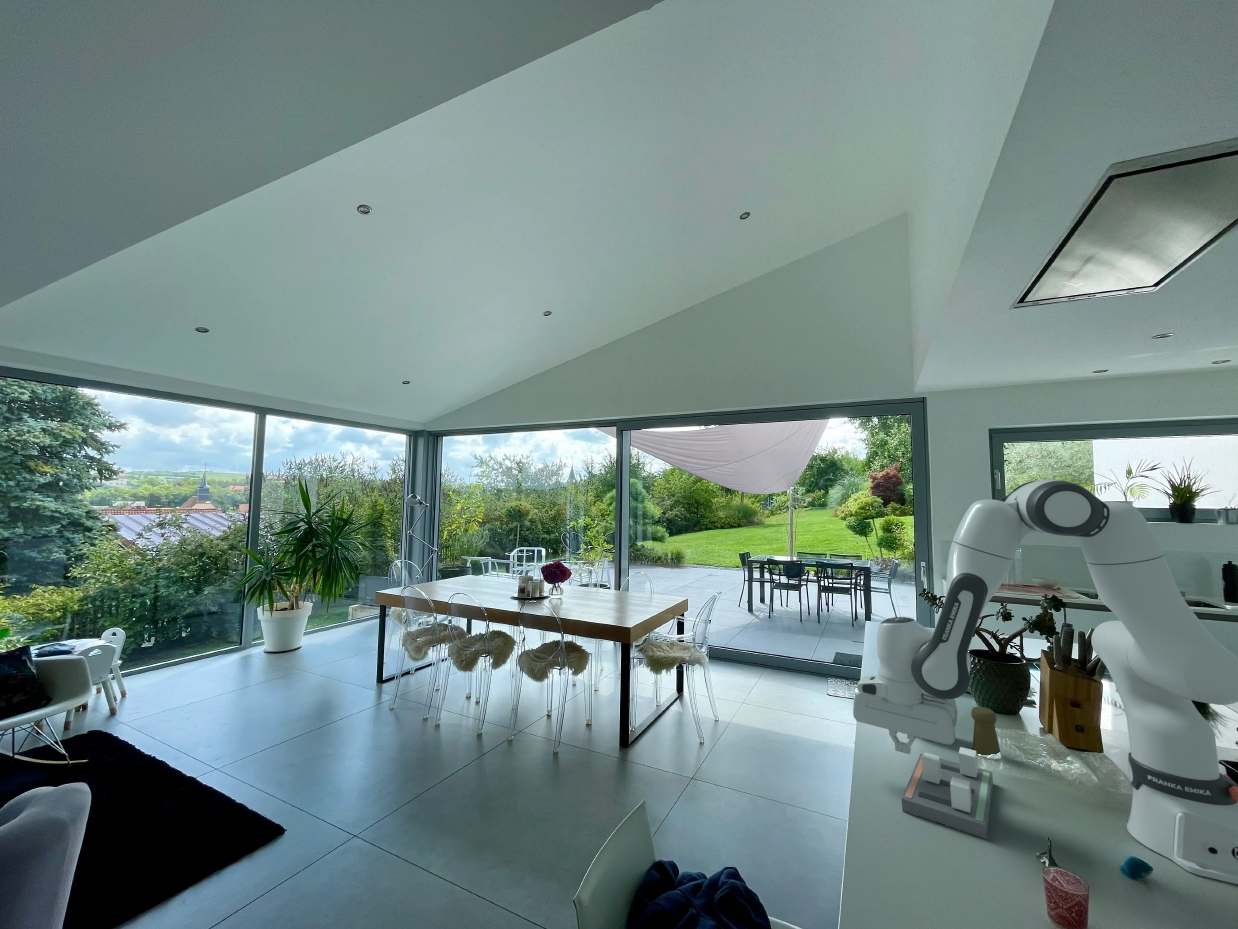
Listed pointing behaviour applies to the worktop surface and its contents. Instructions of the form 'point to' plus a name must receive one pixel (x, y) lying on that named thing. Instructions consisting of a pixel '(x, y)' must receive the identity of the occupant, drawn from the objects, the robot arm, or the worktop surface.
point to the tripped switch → (931, 768)
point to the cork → (984, 731)
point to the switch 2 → (960, 794)
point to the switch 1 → (968, 762)
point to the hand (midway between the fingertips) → (903, 751)
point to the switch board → (937, 798)
